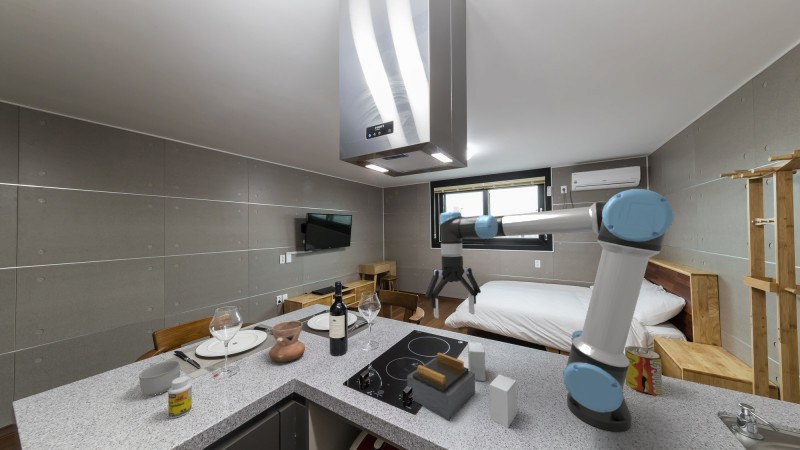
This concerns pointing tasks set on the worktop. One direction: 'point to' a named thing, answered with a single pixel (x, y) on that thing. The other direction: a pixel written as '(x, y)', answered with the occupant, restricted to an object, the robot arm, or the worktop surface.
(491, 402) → the block
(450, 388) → the grey fixture base
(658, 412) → the worktop surface
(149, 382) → the gray oval bowl
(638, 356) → the beverage can
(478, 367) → the small box
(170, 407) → the supplement bottle
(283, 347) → the ceramic jug
